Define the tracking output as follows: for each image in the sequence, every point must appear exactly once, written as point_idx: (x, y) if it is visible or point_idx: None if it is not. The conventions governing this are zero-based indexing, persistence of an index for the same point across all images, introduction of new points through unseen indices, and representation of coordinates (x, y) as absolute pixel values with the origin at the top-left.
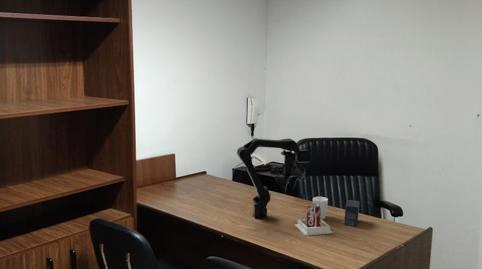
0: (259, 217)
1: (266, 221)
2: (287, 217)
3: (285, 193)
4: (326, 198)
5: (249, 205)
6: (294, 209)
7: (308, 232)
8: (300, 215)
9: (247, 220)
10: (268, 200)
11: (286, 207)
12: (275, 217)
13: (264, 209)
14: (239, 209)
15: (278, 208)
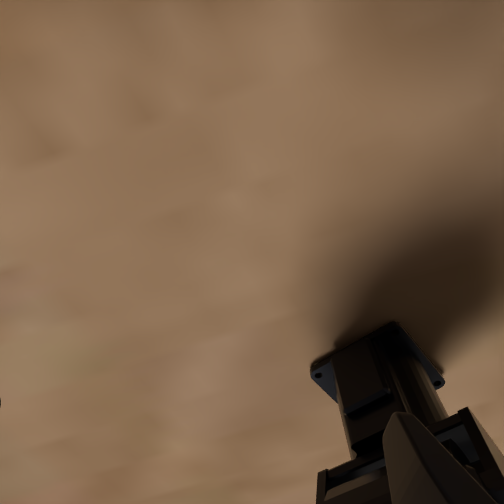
0: (426, 365)
1: (478, 295)
2: (301, 170)
3: (400, 413)
4: None
5: (170, 484)
6: (16, 190)
7: None
8: (163, 54)
9: (487, 404)
10: (500, 468)
11: (20, 276)
12: (348, 268)
13: (411, 396)
14: (281, 498)
15: (98, 323)
